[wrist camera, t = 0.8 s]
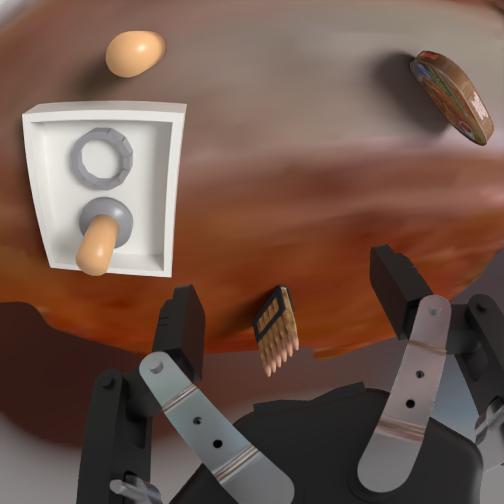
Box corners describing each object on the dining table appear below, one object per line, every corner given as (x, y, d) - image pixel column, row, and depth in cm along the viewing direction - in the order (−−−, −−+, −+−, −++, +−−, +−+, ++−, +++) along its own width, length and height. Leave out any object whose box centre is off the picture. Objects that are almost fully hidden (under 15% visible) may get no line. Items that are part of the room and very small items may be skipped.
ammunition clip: (260, 323, 57) (271, 379, 48) (252, 321, 56) (261, 378, 47) (288, 286, 51) (305, 347, 42) (279, 284, 50) (295, 346, 41)
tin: (397, 57, 27) (441, 71, 21) (411, 42, 26) (457, 53, 19) (453, 131, 34) (491, 158, 28) (465, 118, 33) (503, 142, 26)
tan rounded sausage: (127, 66, 25) (103, 77, 19) (131, 31, 23) (108, 31, 17) (163, 67, 26) (150, 77, 20) (169, 31, 23) (157, 31, 18)
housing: (59, 248, 39) (39, 293, 32) (38, 104, 25) (-3, 131, 18) (172, 257, 43) (169, 306, 36) (186, 104, 29) (180, 129, 23)
